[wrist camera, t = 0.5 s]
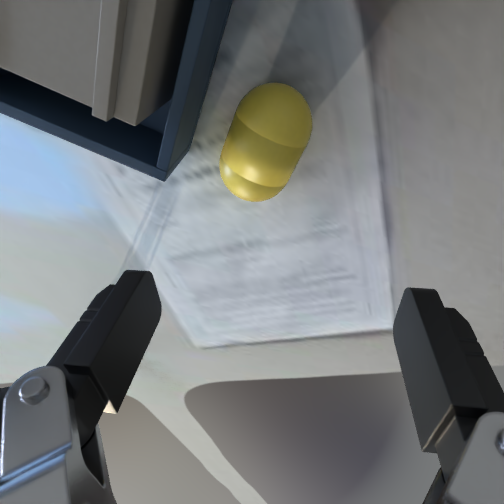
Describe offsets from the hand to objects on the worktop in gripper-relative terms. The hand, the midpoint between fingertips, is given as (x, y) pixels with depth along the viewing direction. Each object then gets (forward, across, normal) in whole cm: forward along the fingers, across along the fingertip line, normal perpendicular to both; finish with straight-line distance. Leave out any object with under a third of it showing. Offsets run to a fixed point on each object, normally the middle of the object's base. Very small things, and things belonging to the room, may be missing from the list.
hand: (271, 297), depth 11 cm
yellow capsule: (+17, +2, 0) cm, 17 cm away
